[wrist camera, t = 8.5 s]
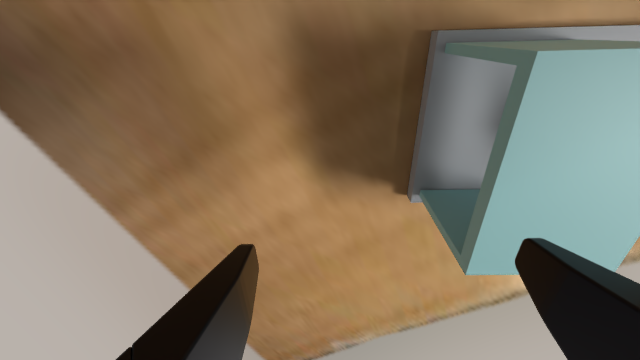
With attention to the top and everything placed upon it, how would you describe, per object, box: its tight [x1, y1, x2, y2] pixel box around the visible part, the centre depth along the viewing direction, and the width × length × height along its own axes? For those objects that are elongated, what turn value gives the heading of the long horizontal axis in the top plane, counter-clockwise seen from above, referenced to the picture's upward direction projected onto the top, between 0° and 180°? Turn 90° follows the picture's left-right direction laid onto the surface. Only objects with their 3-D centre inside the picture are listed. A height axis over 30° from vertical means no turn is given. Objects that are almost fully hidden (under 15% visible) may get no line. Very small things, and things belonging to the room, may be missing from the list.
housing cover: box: [419, 39, 640, 275], centre depth 14 cm, size 7×10×7 cm
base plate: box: [407, 25, 640, 203], centre depth 17 cm, size 17×11×2 cm, turn 91°
